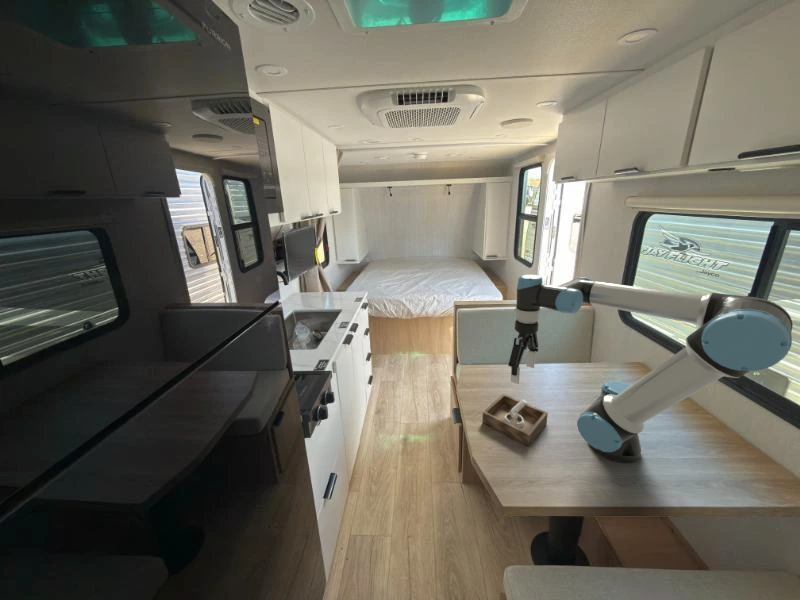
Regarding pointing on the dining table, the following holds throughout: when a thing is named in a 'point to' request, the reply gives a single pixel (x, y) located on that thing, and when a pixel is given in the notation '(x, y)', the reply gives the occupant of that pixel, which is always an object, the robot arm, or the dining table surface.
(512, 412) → the hook
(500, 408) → the wooden tray
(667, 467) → the dining table surface
